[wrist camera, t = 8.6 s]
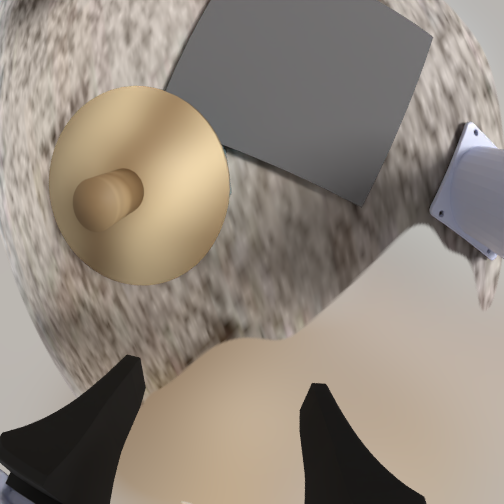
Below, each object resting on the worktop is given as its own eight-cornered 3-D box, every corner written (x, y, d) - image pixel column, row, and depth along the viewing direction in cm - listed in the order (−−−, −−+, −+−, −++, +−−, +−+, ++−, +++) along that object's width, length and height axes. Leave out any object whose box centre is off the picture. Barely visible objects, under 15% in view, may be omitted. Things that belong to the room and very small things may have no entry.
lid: (266, 131, 13) (267, 128, 9) (187, 306, 17) (170, 347, 13) (87, 70, 11) (46, 61, 8) (46, 235, 16) (11, 258, 12)
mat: (429, 38, 12) (433, 37, 12) (358, 205, 18) (361, 207, 17) (243, -45, 11) (243, -49, 10) (157, 121, 16) (153, 120, 15)
